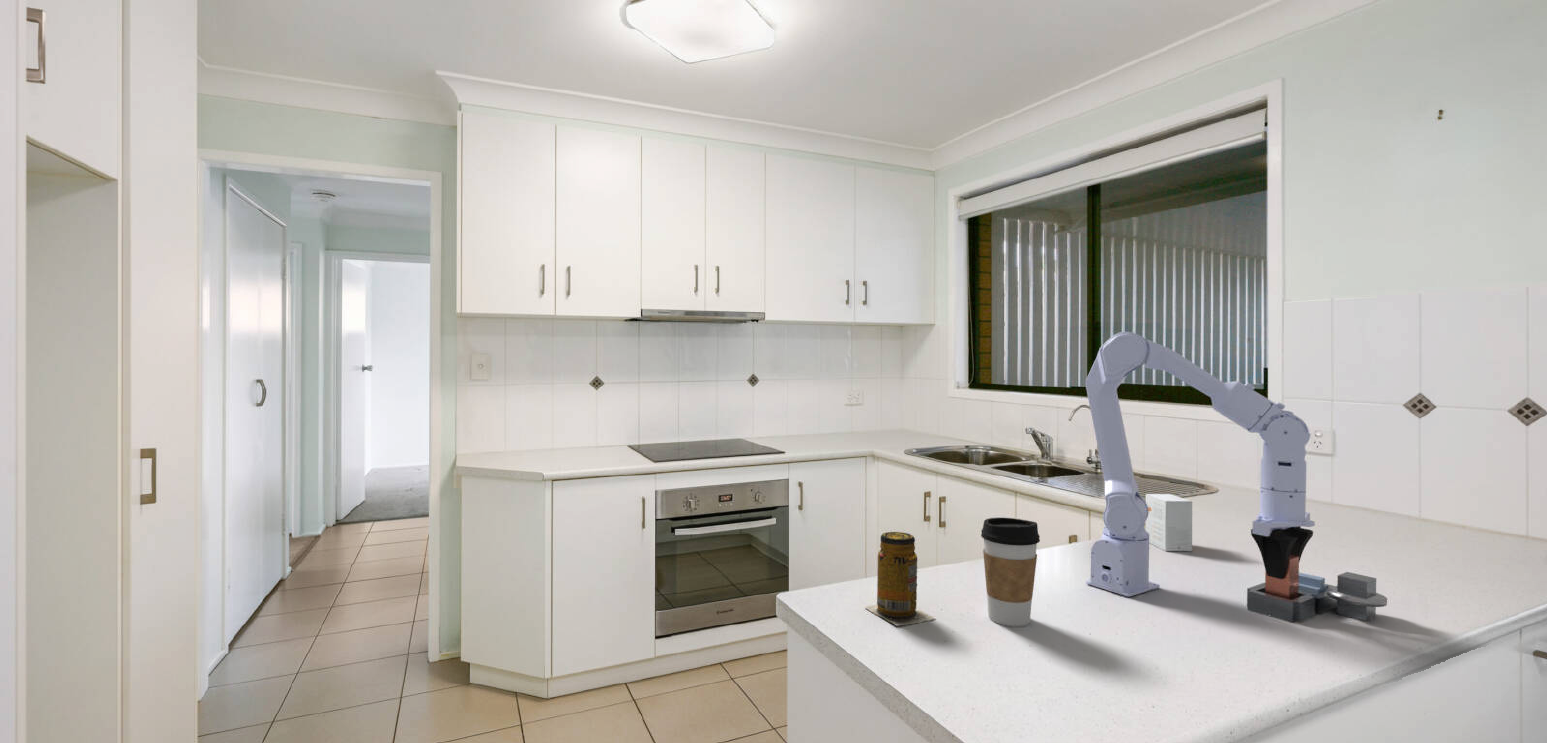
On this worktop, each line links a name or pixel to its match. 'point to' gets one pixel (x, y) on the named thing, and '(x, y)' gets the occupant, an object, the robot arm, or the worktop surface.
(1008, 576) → the coffee cup
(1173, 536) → the small box
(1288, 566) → the reddish brown rectangular block
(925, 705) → the worktop surface
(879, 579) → the condiment
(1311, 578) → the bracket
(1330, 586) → the grey socket with disc
